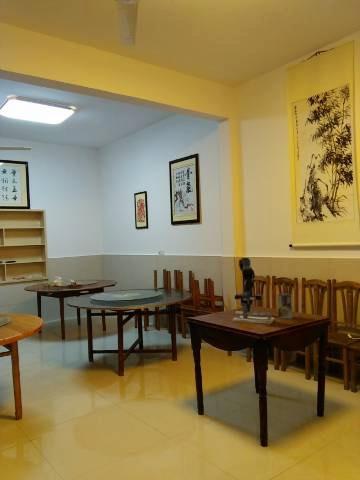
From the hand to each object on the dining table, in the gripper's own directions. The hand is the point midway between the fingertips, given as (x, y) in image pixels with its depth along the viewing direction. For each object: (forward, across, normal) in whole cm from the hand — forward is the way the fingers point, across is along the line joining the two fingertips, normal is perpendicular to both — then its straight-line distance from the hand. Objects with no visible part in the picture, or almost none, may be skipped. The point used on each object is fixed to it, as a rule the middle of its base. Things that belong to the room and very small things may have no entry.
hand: (249, 309), depth 267 cm
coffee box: (+8, +22, +15) cm, 27 cm away
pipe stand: (+8, +2, 0) cm, 8 cm away
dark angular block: (+5, -3, 0) cm, 6 cm away
